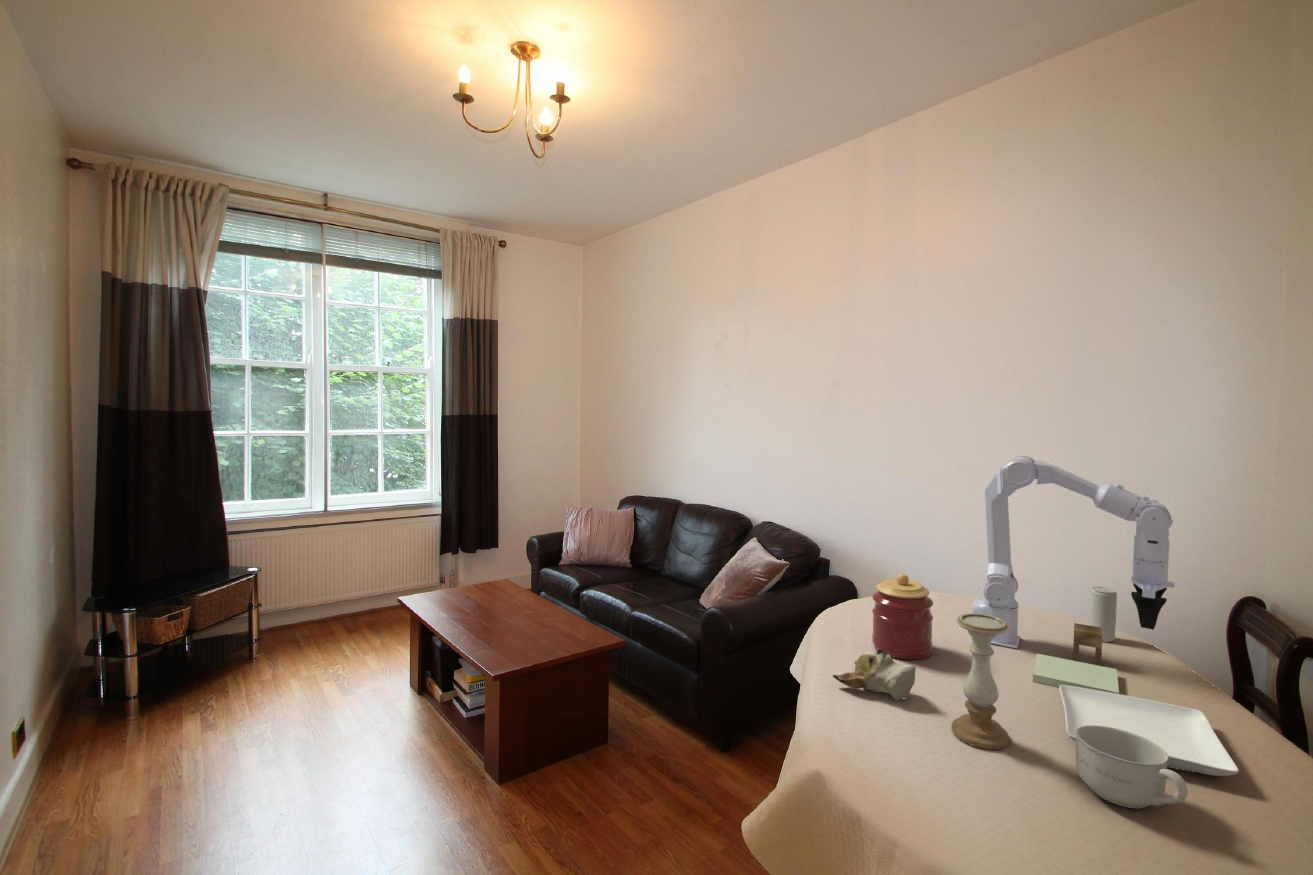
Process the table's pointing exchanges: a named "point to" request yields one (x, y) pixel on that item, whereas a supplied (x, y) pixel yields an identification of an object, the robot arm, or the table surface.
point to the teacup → (1125, 767)
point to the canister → (902, 618)
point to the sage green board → (1074, 674)
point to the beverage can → (1104, 611)
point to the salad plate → (1151, 727)
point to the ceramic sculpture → (880, 675)
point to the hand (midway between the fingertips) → (1147, 622)
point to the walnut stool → (1087, 640)
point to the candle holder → (981, 685)
